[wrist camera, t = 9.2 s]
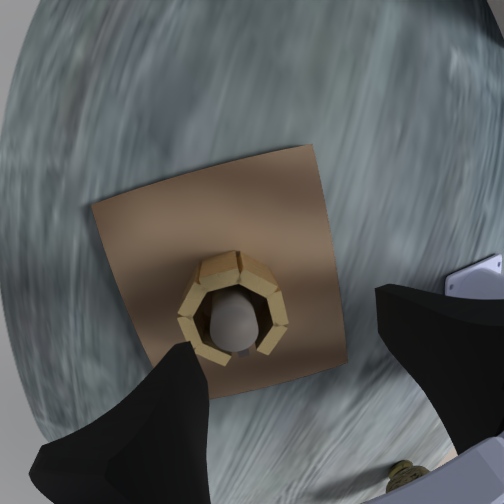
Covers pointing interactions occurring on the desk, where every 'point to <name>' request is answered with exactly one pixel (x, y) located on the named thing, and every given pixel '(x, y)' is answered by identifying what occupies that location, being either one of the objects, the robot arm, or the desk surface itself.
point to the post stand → (239, 239)
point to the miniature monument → (498, 13)
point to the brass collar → (223, 275)
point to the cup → (404, 474)
